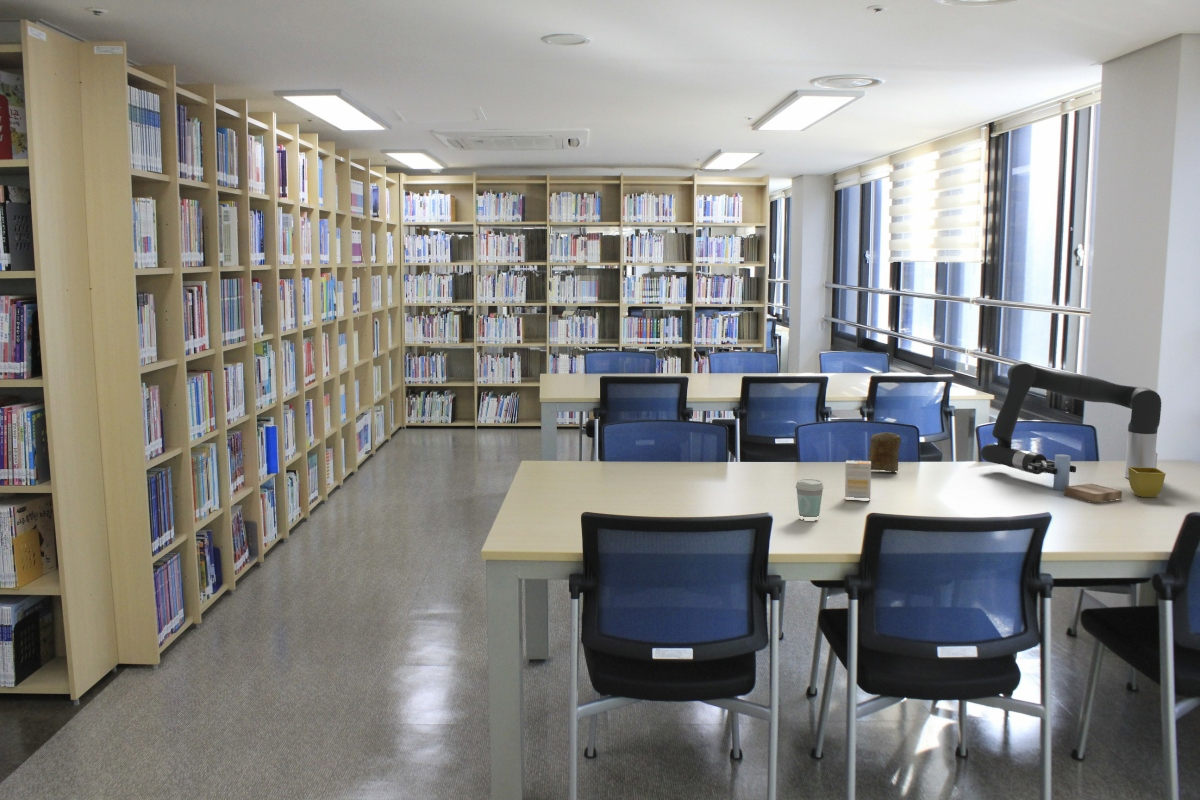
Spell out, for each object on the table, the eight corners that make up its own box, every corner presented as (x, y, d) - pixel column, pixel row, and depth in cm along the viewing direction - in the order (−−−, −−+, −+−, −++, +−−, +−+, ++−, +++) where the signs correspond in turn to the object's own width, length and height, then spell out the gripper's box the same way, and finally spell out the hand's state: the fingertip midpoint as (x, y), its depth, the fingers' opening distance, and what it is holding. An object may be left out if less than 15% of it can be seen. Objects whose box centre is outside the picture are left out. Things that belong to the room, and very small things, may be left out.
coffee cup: (791, 516, 286) (792, 478, 284) (817, 515, 287) (818, 478, 285) (799, 523, 277) (800, 485, 276) (826, 522, 278) (827, 484, 276)
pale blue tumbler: (1060, 487, 321) (1062, 453, 319) (1071, 490, 316) (1073, 456, 314) (1050, 488, 319) (1051, 455, 317) (1061, 491, 314) (1063, 457, 313)
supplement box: (870, 498, 307) (871, 460, 305) (869, 502, 302) (871, 463, 301) (845, 497, 310) (846, 459, 308) (844, 500, 305) (845, 462, 303)
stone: (865, 472, 348) (866, 433, 346) (872, 467, 356) (873, 430, 354) (895, 475, 342) (896, 436, 340) (901, 470, 350) (902, 432, 348)
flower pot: (1164, 499, 302) (1166, 473, 301) (1135, 498, 304) (1137, 472, 302) (1153, 493, 310) (1155, 467, 309) (1126, 492, 312) (1127, 466, 311)
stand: (1090, 492, 313) (1091, 483, 313) (1121, 499, 302) (1121, 491, 301) (1064, 495, 309) (1064, 486, 308) (1094, 503, 298) (1095, 494, 297)
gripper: (1014, 453, 327) (1051, 461, 312) (1044, 450, 332) (1082, 458, 317) (1013, 473, 328) (1049, 483, 313) (1043, 470, 333) (1080, 479, 318)
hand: (1066, 470), depth 315 cm, fingers open, 8 cm apart
